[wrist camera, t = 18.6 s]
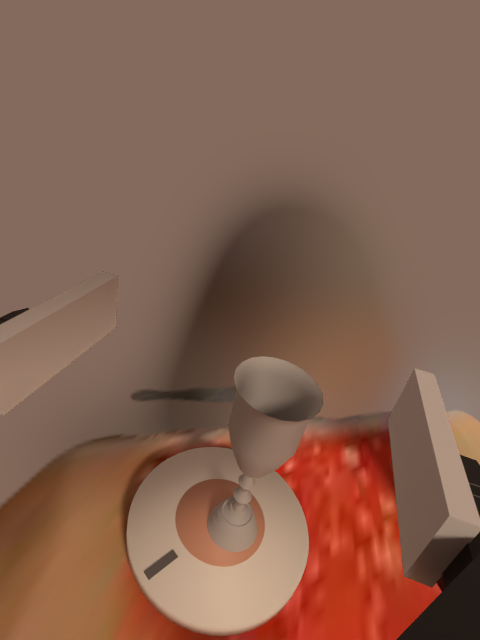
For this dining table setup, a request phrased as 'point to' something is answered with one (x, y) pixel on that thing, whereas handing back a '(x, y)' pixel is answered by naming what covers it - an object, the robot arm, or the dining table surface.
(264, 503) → the turntable
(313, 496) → the dining table surface
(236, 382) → the chalice
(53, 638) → the dining table surface
